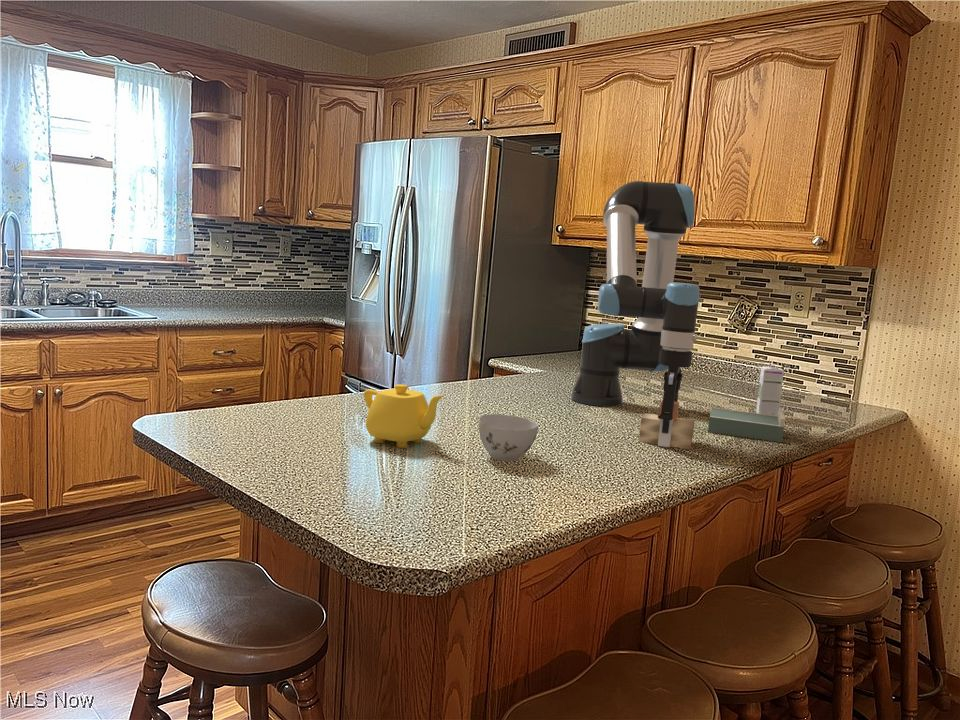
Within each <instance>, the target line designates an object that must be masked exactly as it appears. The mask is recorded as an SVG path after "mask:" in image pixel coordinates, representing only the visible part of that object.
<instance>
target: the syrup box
mask: <svg viewBox="0 0 960 720" xmlns="http://www.w3.org/2000/svg"><path fill="white" fill-rule="evenodd" d="M784 373H785V370H784V369H782V368H781V367H776V366H763V365H762V366H761V367H760V373H759V374H760V376H759V381H758V382H759V383H758V391H757V392H758V393H757V400H756V401H757V402H756V408H755V409H756V410H755V413H758V414H766V415H773V416H777V415H778V409H781V402H782V401H781V399H782V392H783V391H782V390H783V383H784V381H783V380H784Z"/></svg>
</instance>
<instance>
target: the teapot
mask: <svg viewBox="0 0 960 720" xmlns="http://www.w3.org/2000/svg"><path fill="white" fill-rule="evenodd" d="M408 387H409V385H407V384H401V383H399V384H394V388H388V389H382V390H380V391H379V390H376V389H371V388H369V389H365V390H364V392H363V397H364V402H365V404H366V406H367V408H368V412H367V416H366V421H365V428H366V431H367V432H368V434H369V435H370V436H372V437H374V438H373V440H372V442H373V443H375V444H382V443H383V444H384V442H385V441H390V442H396V448H399V449H407V448H409V444H408V442H413V443H423V442H424V440H423V438H424V437H425V436H427V434H428V433H429V431H431V427H432V425H433V423H434V422H435V420H436V416H437V406H438V403H439V401H440V400H441V399H442V398H444V397H445V395H444V394H442V395H434V396H433V397H431V398H430V400H429V403H428V401H427V398H426V396H425V394H424V392H422V391H418V390H413V389H408ZM373 396H374V398H373Z"/></svg>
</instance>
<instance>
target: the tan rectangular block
mask: <svg viewBox="0 0 960 720" xmlns="http://www.w3.org/2000/svg"><path fill="white" fill-rule="evenodd" d="M658 415H659V414H654V413H647V412H646V413H645V412H644V413H643V414H642V416H641V418H640V424H639V425H640V426H639V434H638V435H639V436H638V443H646V444H653V445H657V444H658V438H659V429H660V421H661V419H659V418H658ZM695 421H696V420H695V419H690V418H684V417H683V418H682V417H678V418H677V421H676V422H675V421H673V423H672V432H671V440H670V447H671V446H672V448H677V447H679V449H683V450H685V449H686V450H691V449H692V446H693V439H694V432H695Z"/></svg>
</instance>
